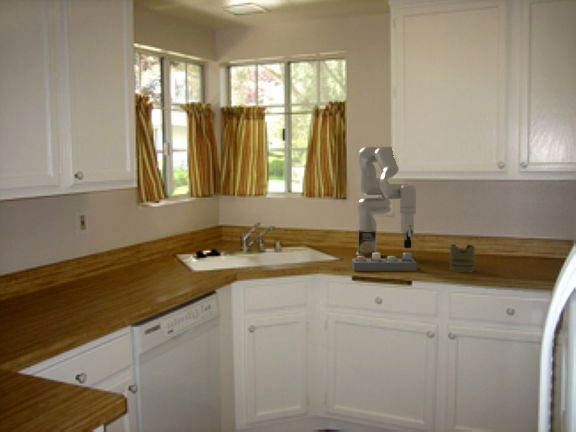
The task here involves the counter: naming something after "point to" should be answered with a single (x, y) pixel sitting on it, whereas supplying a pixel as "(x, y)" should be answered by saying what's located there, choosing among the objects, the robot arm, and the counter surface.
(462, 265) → the olive tactical vest
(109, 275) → the counter surface
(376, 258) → the cream button
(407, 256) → the slate button
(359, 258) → the terracotta button
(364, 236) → the coffee box
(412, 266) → the console
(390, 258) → the sage button
